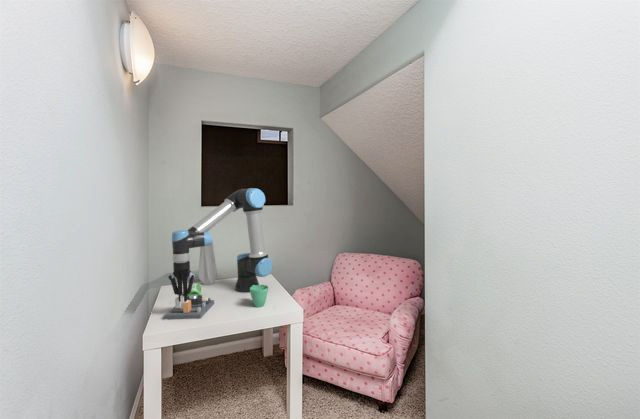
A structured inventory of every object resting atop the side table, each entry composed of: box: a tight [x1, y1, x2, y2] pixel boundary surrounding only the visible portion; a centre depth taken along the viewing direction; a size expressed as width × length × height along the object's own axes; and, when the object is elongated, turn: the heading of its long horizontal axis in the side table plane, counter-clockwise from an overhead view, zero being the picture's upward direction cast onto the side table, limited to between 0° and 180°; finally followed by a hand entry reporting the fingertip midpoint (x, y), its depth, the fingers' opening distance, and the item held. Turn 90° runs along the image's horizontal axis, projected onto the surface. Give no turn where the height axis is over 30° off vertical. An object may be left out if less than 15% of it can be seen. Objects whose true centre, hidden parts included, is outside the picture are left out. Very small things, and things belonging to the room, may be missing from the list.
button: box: [189, 294, 198, 299], centre depth 169 cm, size 4×4×4 cm
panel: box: [163, 294, 215, 320], centre depth 162 cm, size 18×21×5 cm
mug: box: [249, 284, 269, 308], centre depth 170 cm, size 15×10×10 cm
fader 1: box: [174, 295, 181, 308], centre depth 162 cm, size 2×4×5 cm, turn 1°
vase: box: [198, 241, 218, 286], centre depth 213 cm, size 12×12×33 cm
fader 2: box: [183, 300, 191, 313], centre depth 155 cm, size 2×4×5 cm, turn 1°
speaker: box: [187, 282, 202, 297], centre depth 182 cm, size 18×7×8 cm, turn 20°
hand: (183, 307), depth 156 cm, fingers closed
